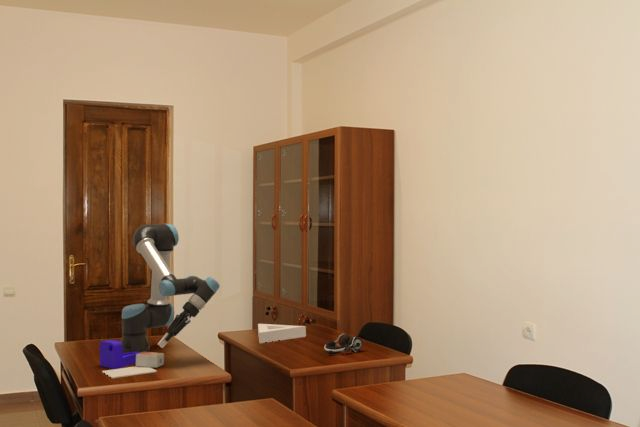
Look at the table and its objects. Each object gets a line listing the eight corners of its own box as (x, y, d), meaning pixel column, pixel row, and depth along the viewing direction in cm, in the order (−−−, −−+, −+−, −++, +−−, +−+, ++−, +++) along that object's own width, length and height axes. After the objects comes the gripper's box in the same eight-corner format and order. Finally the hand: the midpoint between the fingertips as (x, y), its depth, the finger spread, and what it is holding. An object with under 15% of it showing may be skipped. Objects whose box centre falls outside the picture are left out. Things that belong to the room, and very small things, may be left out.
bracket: (114, 369, 328) (114, 343, 328) (100, 366, 335) (99, 341, 335) (146, 362, 343) (146, 337, 342) (132, 359, 349) (131, 335, 349)
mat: (101, 372, 323) (101, 370, 323) (145, 366, 333) (145, 364, 333) (111, 378, 310) (111, 377, 310) (157, 372, 321) (157, 370, 321)
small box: (157, 355, 328) (135, 353, 330) (157, 368, 328) (135, 366, 329) (164, 352, 336) (143, 351, 337) (163, 365, 335) (142, 363, 337)
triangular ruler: (258, 334, 414) (257, 323, 414) (303, 333, 416) (303, 322, 416) (259, 344, 384) (259, 332, 384) (308, 342, 387) (308, 330, 387)
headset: (365, 335, 356) (331, 346, 346) (367, 351, 357) (333, 362, 347) (346, 331, 371) (313, 341, 361) (349, 345, 372) (315, 356, 362)
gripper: (204, 312, 334) (170, 353, 325) (193, 309, 345) (160, 348, 336) (193, 302, 331) (159, 343, 322) (183, 299, 342) (149, 338, 333)
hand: (160, 346), depth 329 cm, fingers closed
